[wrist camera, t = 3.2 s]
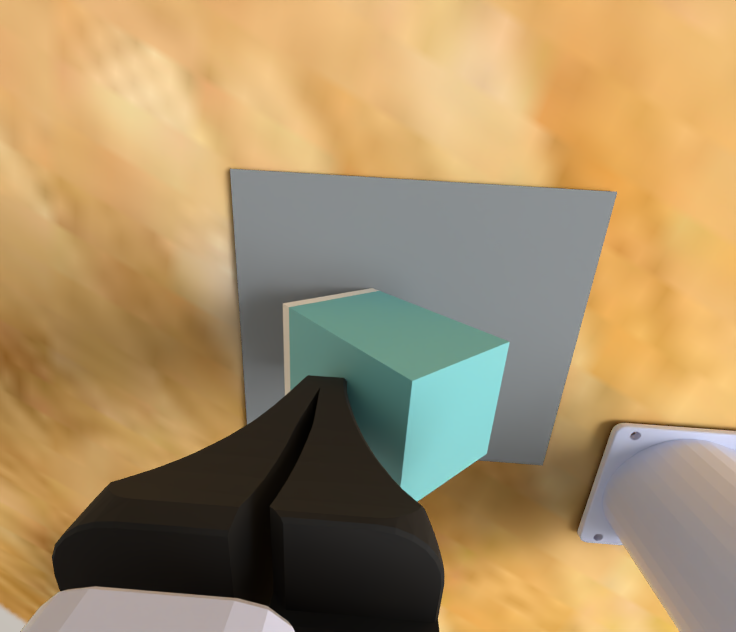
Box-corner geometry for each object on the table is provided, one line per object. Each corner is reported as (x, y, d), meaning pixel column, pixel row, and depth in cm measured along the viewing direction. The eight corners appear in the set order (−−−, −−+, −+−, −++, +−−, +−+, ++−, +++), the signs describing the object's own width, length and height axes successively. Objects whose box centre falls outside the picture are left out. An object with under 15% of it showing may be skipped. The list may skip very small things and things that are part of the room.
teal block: (372, 288, 17) (509, 341, 12) (367, 374, 19) (486, 453, 14) (282, 303, 14) (412, 380, 9) (285, 403, 16) (397, 515, 11)
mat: (612, 191, 16) (617, 192, 15) (540, 461, 20) (542, 465, 20) (232, 168, 16) (230, 168, 16) (250, 439, 21) (248, 442, 21)
